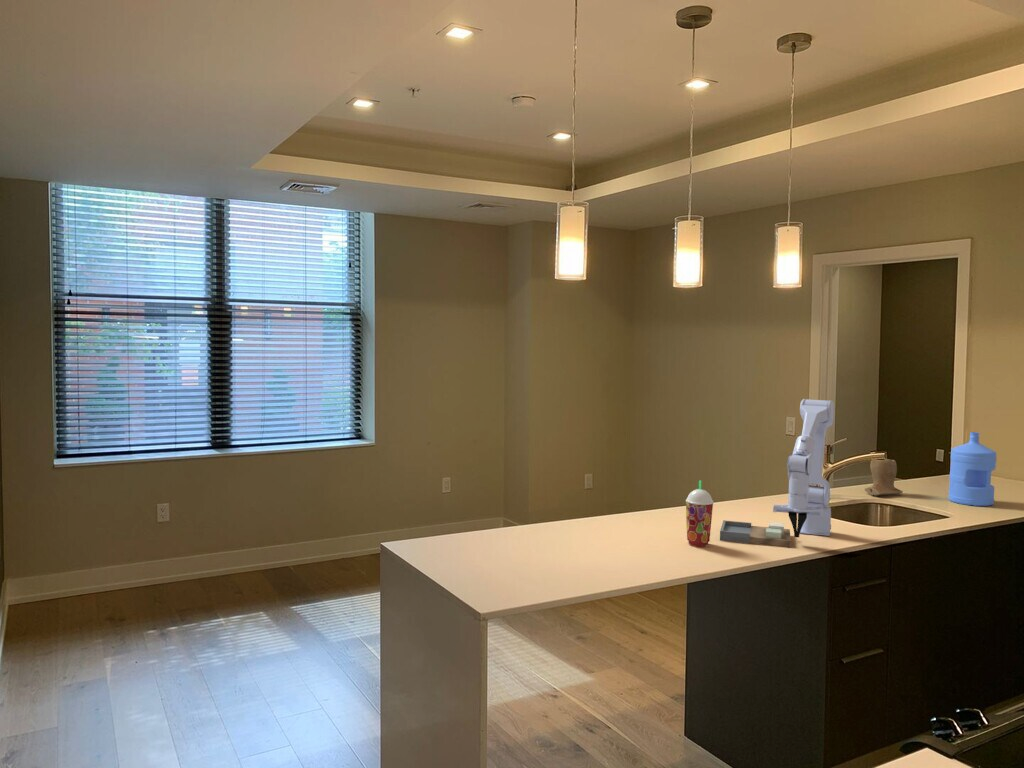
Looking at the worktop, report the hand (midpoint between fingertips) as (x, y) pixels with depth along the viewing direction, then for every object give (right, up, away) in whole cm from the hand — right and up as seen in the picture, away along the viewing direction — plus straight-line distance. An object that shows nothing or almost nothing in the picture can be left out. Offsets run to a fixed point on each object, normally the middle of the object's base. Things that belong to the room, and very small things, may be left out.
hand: (796, 536), depth 241 cm
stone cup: (+65, +1, +80) cm, 103 cm away
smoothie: (-31, -2, -1) cm, 31 cm away
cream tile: (-4, 0, +7) cm, 8 cm away
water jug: (+94, 0, +67) cm, 115 cm away
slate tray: (-16, -2, +10) cm, 19 cm away
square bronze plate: (-6, -2, +6) cm, 9 cm away
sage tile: (-6, 0, +2) cm, 7 cm away
